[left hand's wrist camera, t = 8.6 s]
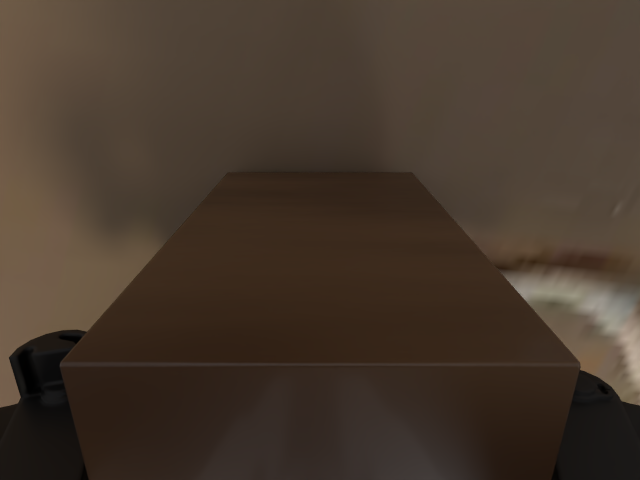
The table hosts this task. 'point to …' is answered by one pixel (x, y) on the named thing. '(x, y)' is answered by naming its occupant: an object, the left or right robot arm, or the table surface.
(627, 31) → the table surface
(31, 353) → the left robot arm
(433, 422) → the bar
